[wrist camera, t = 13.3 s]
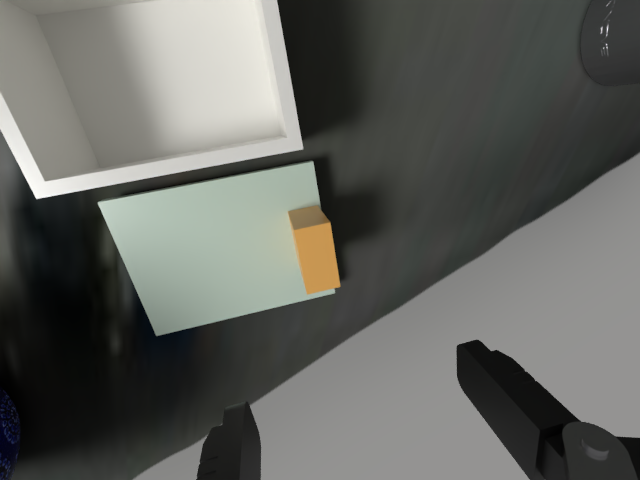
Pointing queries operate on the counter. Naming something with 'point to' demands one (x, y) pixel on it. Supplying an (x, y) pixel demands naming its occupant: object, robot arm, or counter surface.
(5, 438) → the planter
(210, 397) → the counter surface
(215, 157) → the tub
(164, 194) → the lid
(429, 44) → the counter surface
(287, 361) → the counter surface
